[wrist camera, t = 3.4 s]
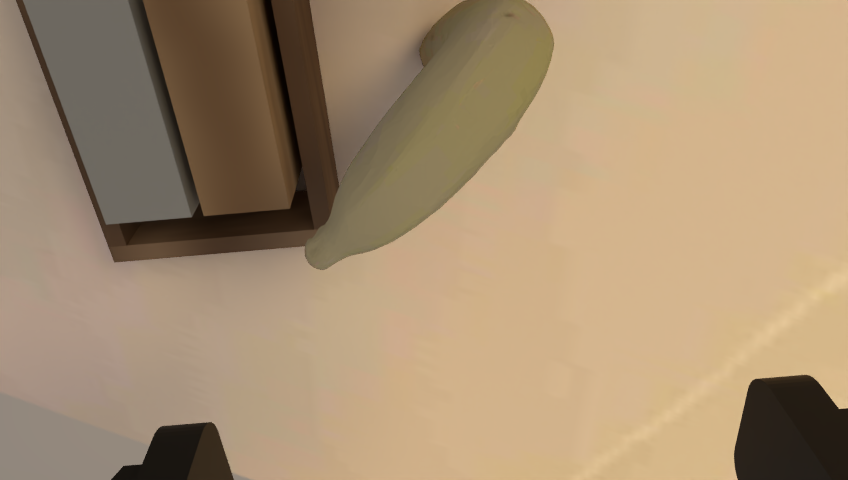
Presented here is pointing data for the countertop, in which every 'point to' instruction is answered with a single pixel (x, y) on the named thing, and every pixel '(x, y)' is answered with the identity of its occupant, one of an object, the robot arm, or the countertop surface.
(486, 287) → the countertop surface
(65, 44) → the offcut grey
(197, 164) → the offcut teak
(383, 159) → the fruit
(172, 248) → the wooden tray
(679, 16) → the countertop surface
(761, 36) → the countertop surface
